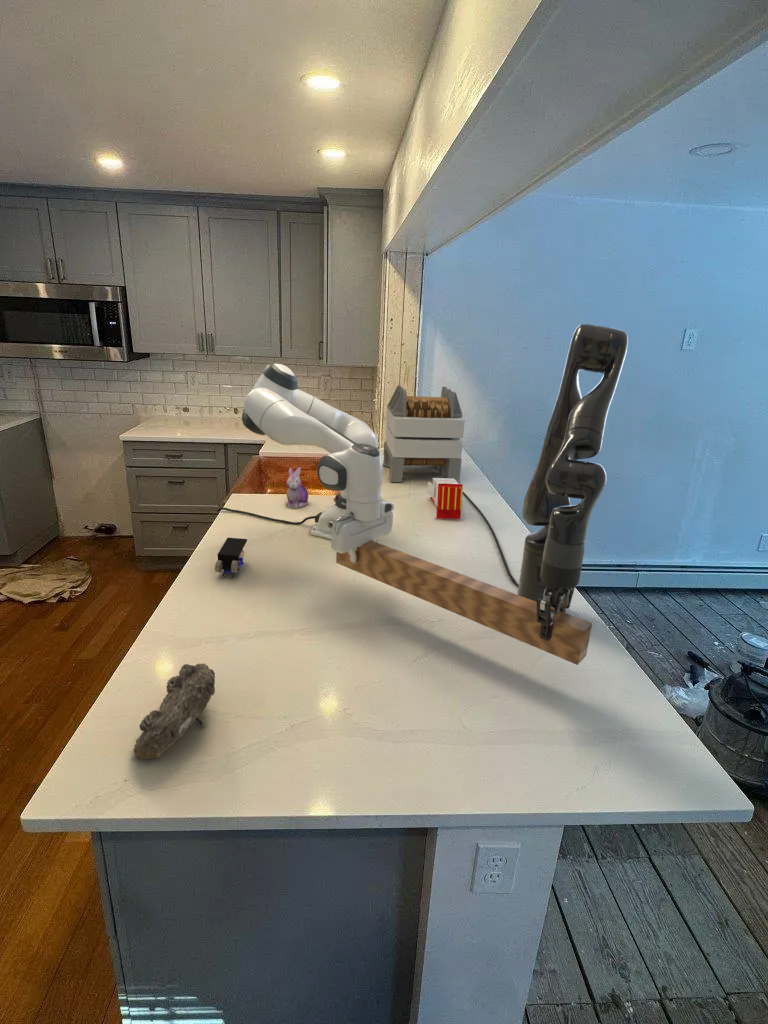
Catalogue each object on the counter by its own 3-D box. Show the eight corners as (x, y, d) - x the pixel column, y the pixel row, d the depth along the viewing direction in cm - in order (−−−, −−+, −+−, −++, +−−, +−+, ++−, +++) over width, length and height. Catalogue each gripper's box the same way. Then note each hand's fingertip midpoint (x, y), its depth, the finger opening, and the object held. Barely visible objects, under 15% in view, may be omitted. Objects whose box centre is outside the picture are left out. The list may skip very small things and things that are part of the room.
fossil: (165, 664, 116) (216, 632, 111) (198, 695, 118) (250, 665, 113) (108, 752, 96) (167, 718, 91) (150, 786, 99) (209, 755, 94)
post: (336, 562, 153) (336, 536, 150) (347, 558, 156) (347, 531, 153) (577, 665, 113) (584, 631, 110) (586, 655, 116) (592, 622, 113)
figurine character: (238, 584, 162) (249, 557, 175) (236, 562, 158) (247, 536, 172) (215, 584, 161) (227, 556, 175) (212, 561, 158) (225, 535, 171)
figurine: (290, 510, 218) (289, 472, 212) (281, 502, 226) (281, 465, 221) (313, 507, 222) (313, 470, 217) (304, 499, 230) (304, 463, 225)
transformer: (382, 463, 289) (386, 382, 275) (445, 464, 293) (451, 384, 279) (390, 482, 257) (394, 392, 243) (460, 483, 261) (468, 394, 247)
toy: (455, 474, 240) (467, 485, 211) (453, 505, 243) (464, 520, 214) (426, 473, 240) (434, 484, 211) (425, 504, 243) (432, 519, 213)
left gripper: (344, 522, 135) (343, 574, 139) (397, 502, 150) (395, 550, 154) (325, 515, 138) (325, 566, 143) (379, 497, 153) (377, 543, 158)
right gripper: (565, 576, 104) (552, 655, 110) (594, 554, 115) (581, 627, 121) (528, 564, 109) (517, 640, 115) (559, 543, 119) (548, 614, 125)
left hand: (361, 558), depth 149 cm, fingers closed on post, 4 cm apart
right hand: (550, 633), depth 118 cm, fingers closed on post, 4 cm apart
